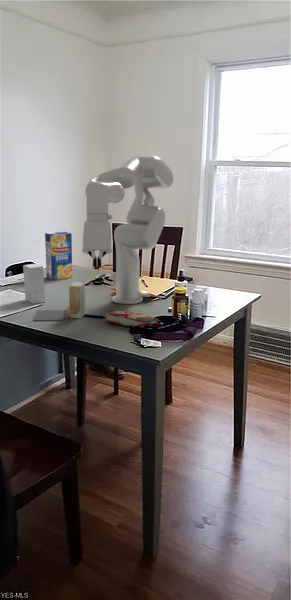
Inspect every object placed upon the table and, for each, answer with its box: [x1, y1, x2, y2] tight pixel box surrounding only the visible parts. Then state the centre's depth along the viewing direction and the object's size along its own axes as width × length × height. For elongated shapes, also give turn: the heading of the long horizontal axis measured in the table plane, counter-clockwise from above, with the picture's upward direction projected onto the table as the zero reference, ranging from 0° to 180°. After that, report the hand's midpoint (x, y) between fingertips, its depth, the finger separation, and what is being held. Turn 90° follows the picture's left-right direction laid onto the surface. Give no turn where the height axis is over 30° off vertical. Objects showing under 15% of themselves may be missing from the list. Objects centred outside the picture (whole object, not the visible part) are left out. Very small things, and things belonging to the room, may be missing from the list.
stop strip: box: [64, 306, 70, 323], centre depth 180 cm, size 1×14×2 cm, turn 6°
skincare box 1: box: [22, 263, 46, 305], centre depth 197 cm, size 8×6×15 cm
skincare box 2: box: [68, 281, 86, 319], centre depth 179 cm, size 6×4×12 cm
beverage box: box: [44, 231, 73, 281], centre depth 238 cm, size 7×11×22 cm, turn 123°
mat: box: [33, 309, 66, 322], centre depth 180 cm, size 11×12×1 cm
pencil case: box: [105, 310, 160, 327], centre depth 170 cm, size 11×20×5 cm, turn 49°
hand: (97, 269), depth 176 cm, fingers closed
